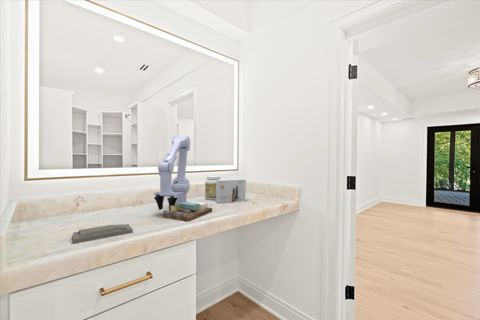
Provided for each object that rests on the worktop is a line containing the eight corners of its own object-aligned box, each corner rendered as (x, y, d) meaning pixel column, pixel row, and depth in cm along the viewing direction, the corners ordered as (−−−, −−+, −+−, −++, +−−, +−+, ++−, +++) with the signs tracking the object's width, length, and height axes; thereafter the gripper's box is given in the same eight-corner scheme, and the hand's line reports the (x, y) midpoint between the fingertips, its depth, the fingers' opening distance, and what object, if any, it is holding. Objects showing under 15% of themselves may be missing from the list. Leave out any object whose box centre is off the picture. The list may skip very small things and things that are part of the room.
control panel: (163, 217, 114) (163, 210, 114) (189, 208, 134) (189, 202, 134) (188, 221, 107) (188, 214, 107) (212, 211, 127) (212, 205, 127)
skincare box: (218, 203, 148) (218, 180, 148) (215, 202, 153) (215, 179, 153) (246, 201, 158) (246, 179, 158) (242, 199, 163) (242, 178, 163)
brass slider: (170, 213, 114) (170, 205, 114) (175, 211, 117) (175, 204, 117) (175, 213, 112) (175, 206, 112) (180, 212, 116) (180, 204, 116)
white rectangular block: (188, 207, 127) (188, 203, 127) (193, 205, 132) (193, 201, 132) (202, 209, 123) (202, 204, 123) (207, 207, 128) (207, 203, 128)
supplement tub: (202, 198, 167) (202, 176, 167) (215, 196, 175) (215, 175, 175) (211, 201, 158) (211, 177, 158) (224, 198, 166) (224, 176, 166)
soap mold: (133, 234, 91) (133, 225, 91) (72, 245, 79) (72, 236, 79) (128, 227, 99) (128, 220, 99) (72, 237, 87) (72, 228, 87)
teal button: (178, 208, 120) (178, 203, 120) (184, 206, 125) (184, 201, 125) (193, 209, 116) (193, 205, 116) (199, 208, 121) (199, 203, 121)
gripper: (149, 184, 117) (149, 210, 117) (171, 186, 111) (171, 213, 111) (159, 183, 123) (159, 207, 123) (180, 184, 117) (180, 210, 117)
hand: (165, 210), depth 117 cm, fingers open, 7 cm apart
